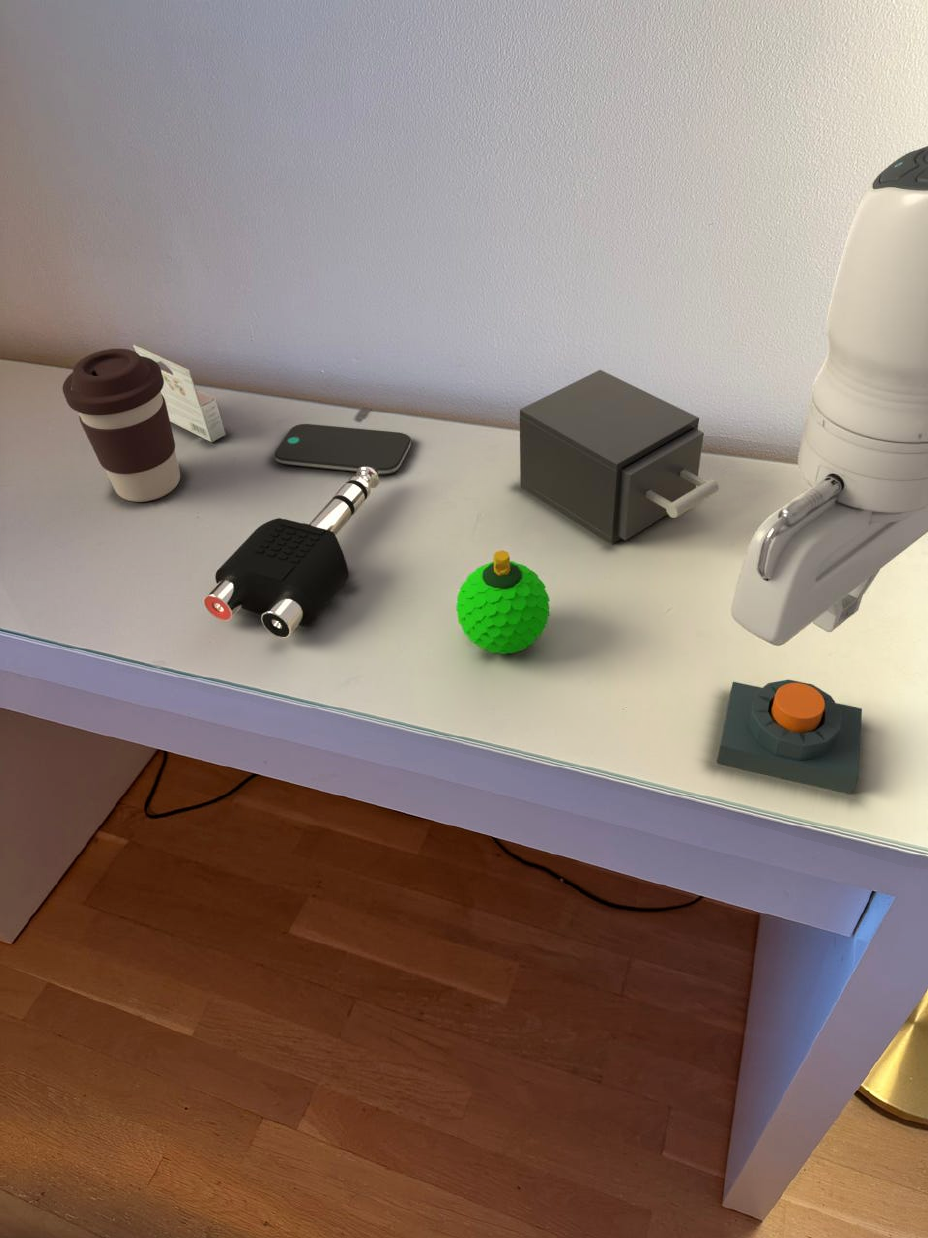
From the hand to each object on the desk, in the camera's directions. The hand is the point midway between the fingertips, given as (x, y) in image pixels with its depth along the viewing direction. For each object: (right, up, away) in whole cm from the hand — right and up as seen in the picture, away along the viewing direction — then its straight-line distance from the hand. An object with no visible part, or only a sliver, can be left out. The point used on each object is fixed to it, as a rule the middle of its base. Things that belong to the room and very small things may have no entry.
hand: (833, 617), depth 63 cm
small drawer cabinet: (-10, +14, +36) cm, 40 cm away
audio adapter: (-40, +6, +31) cm, 50 cm away
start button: (0, -7, +8) cm, 11 cm away
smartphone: (-39, +19, +44) cm, 62 cm away
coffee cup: (-61, +15, +41) cm, 75 cm away
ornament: (-22, -2, +20) cm, 30 cm away
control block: (0, -10, +10) cm, 14 cm away
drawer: (-8, +12, +33) cm, 36 cm away
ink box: (-59, +23, +50) cm, 81 cm away
